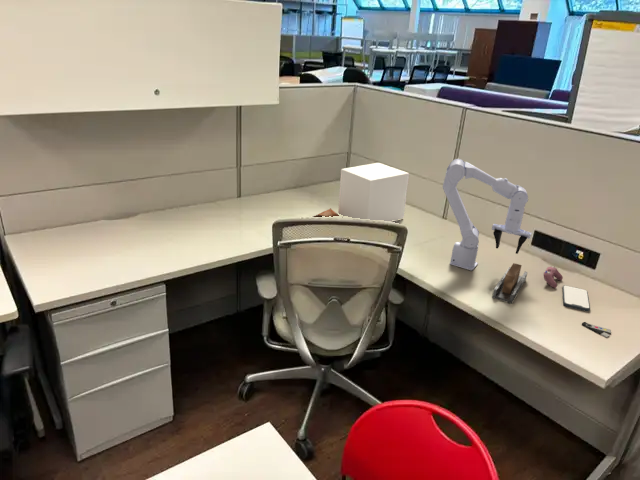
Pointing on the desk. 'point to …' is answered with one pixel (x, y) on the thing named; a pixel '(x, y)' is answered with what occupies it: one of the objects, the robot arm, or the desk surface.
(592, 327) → the usb flash drive
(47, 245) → the desk surface
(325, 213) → the sunglasses case
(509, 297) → the rail
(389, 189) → the cube
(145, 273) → the desk surface
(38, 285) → the desk surface
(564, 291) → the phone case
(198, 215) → the desk surface
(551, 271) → the video game controller
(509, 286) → the brown rectangular block
